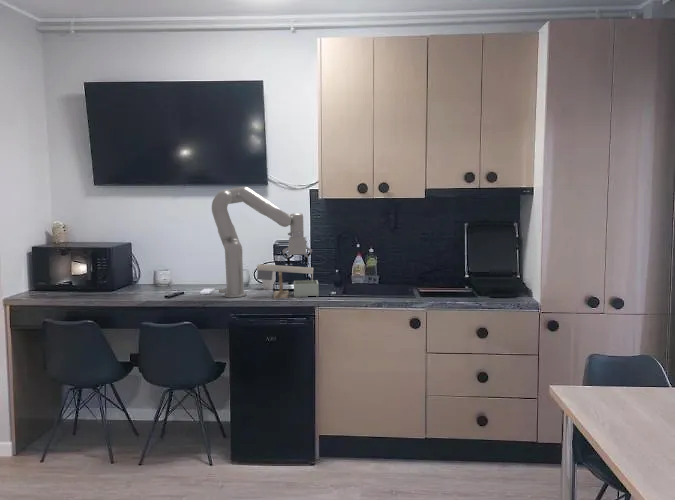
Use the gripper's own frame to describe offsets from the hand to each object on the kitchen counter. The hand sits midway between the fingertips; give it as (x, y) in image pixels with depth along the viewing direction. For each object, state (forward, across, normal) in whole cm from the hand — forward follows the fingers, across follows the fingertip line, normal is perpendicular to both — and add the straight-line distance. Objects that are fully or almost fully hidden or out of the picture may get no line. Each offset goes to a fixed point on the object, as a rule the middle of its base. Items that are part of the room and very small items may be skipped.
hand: (297, 264), depth 349 cm
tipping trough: (+7, -8, -5) cm, 12 cm away
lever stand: (+16, -10, -10) cm, 21 cm away
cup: (+16, +4, -10) cm, 19 cm away
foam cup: (+16, -18, +15) cm, 28 cm away
